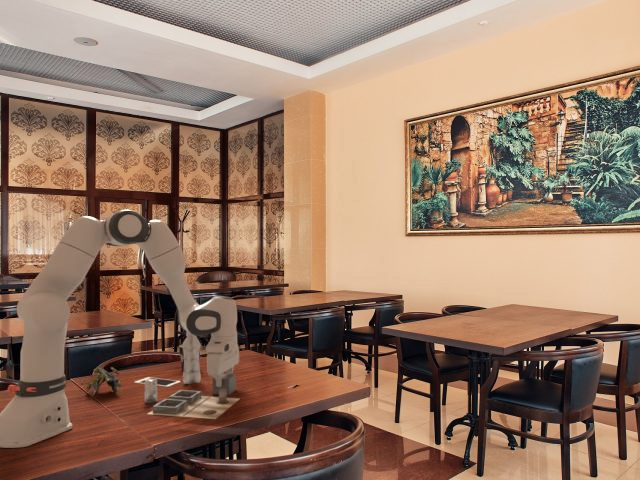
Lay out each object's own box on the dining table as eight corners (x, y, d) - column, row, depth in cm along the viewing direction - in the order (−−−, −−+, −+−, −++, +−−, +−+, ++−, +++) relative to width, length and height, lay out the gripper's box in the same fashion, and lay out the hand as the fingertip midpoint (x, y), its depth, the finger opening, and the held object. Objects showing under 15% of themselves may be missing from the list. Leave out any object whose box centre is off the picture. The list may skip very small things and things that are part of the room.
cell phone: (147, 378, 200) (147, 377, 200) (181, 382, 194) (181, 381, 194) (133, 383, 193) (133, 382, 193) (168, 388, 187) (168, 386, 187)
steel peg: (153, 403, 168) (153, 382, 168) (142, 402, 168) (142, 381, 169) (159, 399, 172) (159, 379, 172) (148, 399, 172) (148, 378, 172)
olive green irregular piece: (113, 407, 181) (130, 381, 179) (85, 409, 172) (103, 382, 170) (100, 384, 187) (117, 359, 185) (73, 386, 178) (89, 359, 176)
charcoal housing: (229, 399, 172) (229, 378, 172) (212, 398, 173) (212, 378, 173) (235, 394, 178) (235, 374, 178) (219, 393, 179) (219, 373, 179)
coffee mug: (178, 367, 216) (178, 344, 216) (199, 366, 218) (199, 343, 218) (179, 374, 205) (179, 349, 205) (201, 373, 207) (201, 348, 207)
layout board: (215, 424, 148) (215, 405, 148) (147, 418, 153) (147, 400, 153) (240, 403, 168) (240, 386, 168) (178, 399, 172) (178, 382, 172)
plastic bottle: (196, 386, 187) (196, 332, 187) (179, 385, 188) (179, 331, 188) (203, 382, 193) (203, 329, 193) (187, 381, 195) (187, 329, 195)
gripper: (227, 337, 186) (227, 374, 186) (203, 348, 166) (203, 390, 166) (243, 337, 185) (243, 375, 185) (221, 349, 165) (221, 391, 165)
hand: (224, 383), depth 175 cm, fingers open, 7 cm apart
